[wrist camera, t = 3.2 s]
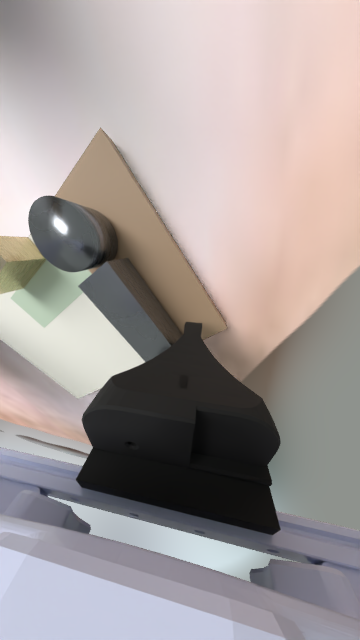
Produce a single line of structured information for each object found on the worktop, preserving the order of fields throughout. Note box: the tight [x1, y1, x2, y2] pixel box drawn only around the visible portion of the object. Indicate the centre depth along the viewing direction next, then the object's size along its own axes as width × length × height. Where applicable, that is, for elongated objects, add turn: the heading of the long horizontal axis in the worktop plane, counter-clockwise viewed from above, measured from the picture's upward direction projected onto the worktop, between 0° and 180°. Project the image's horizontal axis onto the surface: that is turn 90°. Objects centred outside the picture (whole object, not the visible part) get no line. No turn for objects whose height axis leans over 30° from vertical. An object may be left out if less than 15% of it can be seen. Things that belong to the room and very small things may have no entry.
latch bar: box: [28, 196, 182, 362], centre depth 9 cm, size 12×3×3 cm, turn 33°
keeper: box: [0, 236, 46, 294], centre depth 10 cm, size 4×2×2 cm, turn 125°
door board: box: [0, 127, 227, 399], centre depth 13 cm, size 20×13×1 cm, turn 125°
